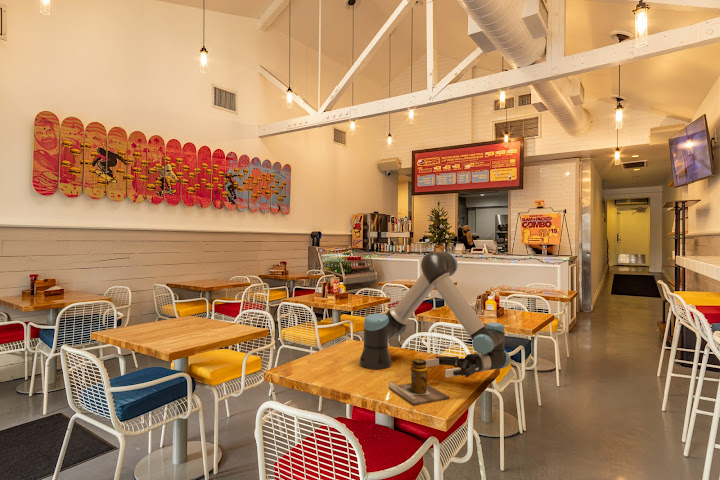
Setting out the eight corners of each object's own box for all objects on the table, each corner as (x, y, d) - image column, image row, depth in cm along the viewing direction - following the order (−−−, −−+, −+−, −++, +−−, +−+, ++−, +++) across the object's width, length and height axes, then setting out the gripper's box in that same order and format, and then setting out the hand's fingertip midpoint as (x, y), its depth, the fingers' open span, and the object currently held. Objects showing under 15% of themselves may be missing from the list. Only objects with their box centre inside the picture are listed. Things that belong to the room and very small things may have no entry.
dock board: (422, 383, 166) (422, 377, 166) (449, 398, 149) (449, 392, 149) (388, 388, 159) (389, 382, 159) (413, 405, 142) (413, 399, 142)
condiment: (430, 394, 151) (430, 362, 152) (409, 395, 150) (410, 364, 150) (423, 387, 159) (423, 357, 159) (403, 388, 157) (403, 358, 157)
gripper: (498, 381, 155) (454, 388, 146) (457, 363, 177) (417, 368, 168) (499, 361, 155) (455, 368, 146) (458, 346, 177) (418, 350, 168)
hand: (435, 368), depth 157 cm, fingers open, 13 cm apart
